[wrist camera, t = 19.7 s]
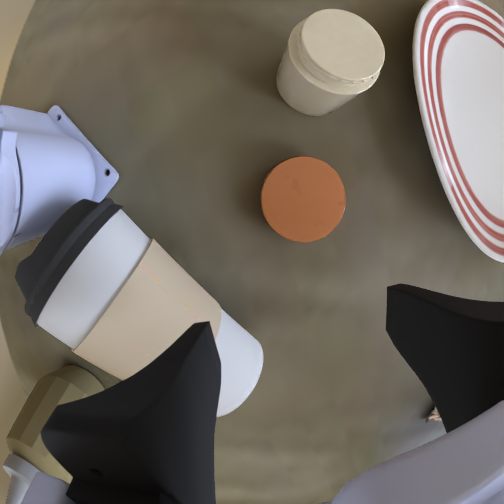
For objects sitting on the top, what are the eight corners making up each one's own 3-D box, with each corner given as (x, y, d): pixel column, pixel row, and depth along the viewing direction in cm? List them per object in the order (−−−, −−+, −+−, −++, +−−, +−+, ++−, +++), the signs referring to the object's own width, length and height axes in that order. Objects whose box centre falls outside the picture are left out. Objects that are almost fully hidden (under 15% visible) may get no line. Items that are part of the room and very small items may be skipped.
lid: (343, 229, 20) (351, 234, 19) (269, 245, 21) (271, 251, 19) (330, 151, 19) (337, 150, 17) (252, 166, 19) (252, 165, 17)
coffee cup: (200, 345, 25) (66, 237, 19) (278, 305, 21) (116, 156, 15) (176, 436, 18) (-1, 318, 12) (271, 421, 13) (11, 239, 8)
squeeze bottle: (81, 414, 25) (25, 526, 8) (41, 360, 23) (-43, 469, 6) (131, 409, 25) (79, 552, 7) (88, 349, 23) (-9, 492, 5)
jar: (260, 79, 17) (269, 32, 10) (310, 41, 17) (338, -10, 9) (312, 130, 19) (349, 107, 11) (359, 89, 18) (409, 57, 11)
